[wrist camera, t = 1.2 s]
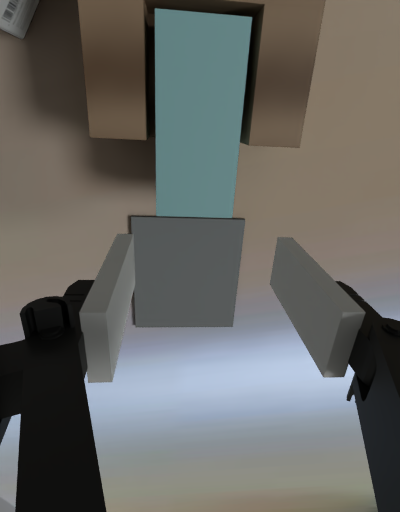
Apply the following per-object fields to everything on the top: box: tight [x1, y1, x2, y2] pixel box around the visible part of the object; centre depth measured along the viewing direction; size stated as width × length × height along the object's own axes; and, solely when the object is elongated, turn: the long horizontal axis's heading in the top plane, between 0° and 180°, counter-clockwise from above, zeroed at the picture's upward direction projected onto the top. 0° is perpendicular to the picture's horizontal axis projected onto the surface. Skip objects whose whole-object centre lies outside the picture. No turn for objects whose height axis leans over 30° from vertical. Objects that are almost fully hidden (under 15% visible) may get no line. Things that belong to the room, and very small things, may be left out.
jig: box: [78, 0, 326, 148], centre depth 22 cm, size 16×15×8 cm
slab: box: [155, 8, 252, 218], centre depth 23 cm, size 13×6×4 cm, turn 177°
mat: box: [131, 216, 245, 327], centre depth 35 cm, size 14×12×1 cm
